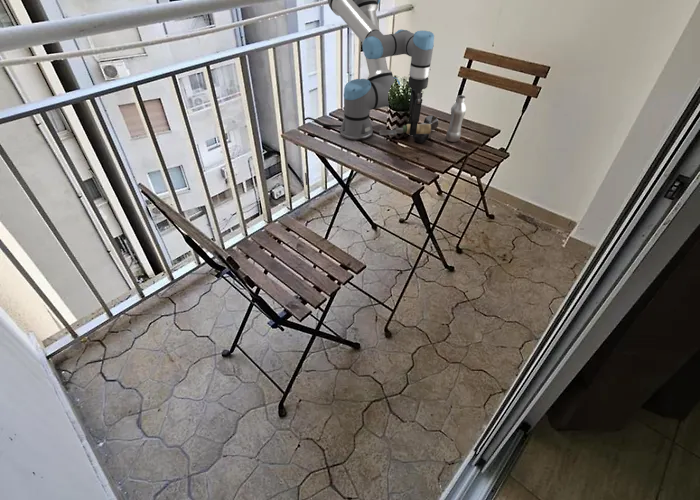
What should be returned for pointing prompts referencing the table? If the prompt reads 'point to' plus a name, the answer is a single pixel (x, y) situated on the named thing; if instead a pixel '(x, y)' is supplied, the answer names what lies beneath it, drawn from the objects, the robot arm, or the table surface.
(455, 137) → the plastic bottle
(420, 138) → the wine glass
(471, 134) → the table surface
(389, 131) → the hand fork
